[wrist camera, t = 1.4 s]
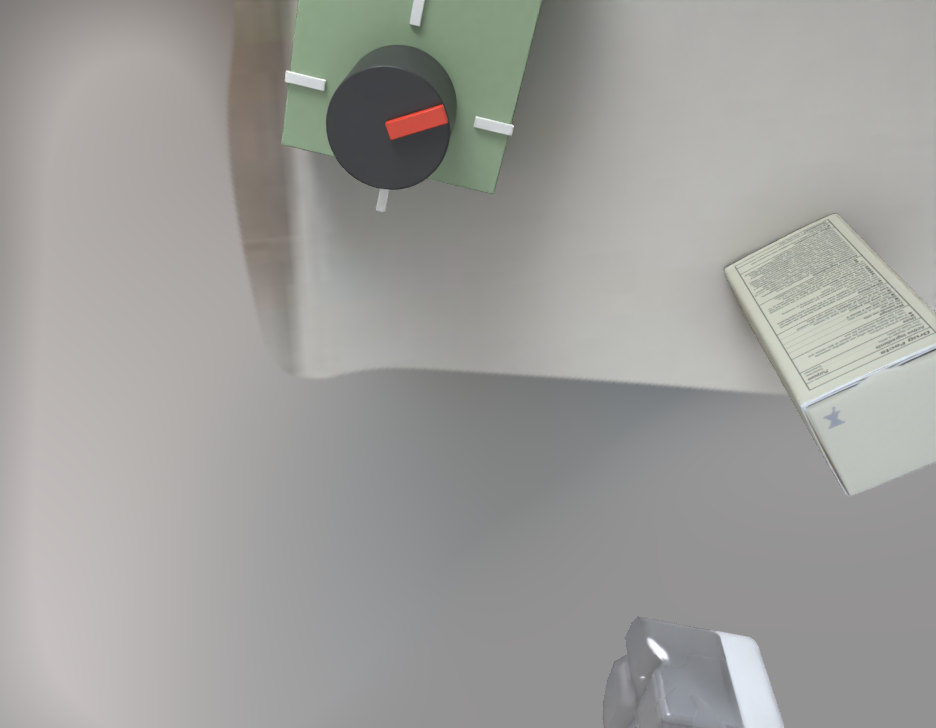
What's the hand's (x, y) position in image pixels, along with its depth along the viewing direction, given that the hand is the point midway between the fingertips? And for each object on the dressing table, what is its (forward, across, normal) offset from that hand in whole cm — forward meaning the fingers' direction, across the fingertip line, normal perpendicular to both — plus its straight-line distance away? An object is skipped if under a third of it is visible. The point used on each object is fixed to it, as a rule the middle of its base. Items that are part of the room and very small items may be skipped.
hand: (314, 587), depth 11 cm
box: (+26, -16, +4) cm, 31 cm away
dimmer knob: (+23, +2, 0) cm, 23 cm away
